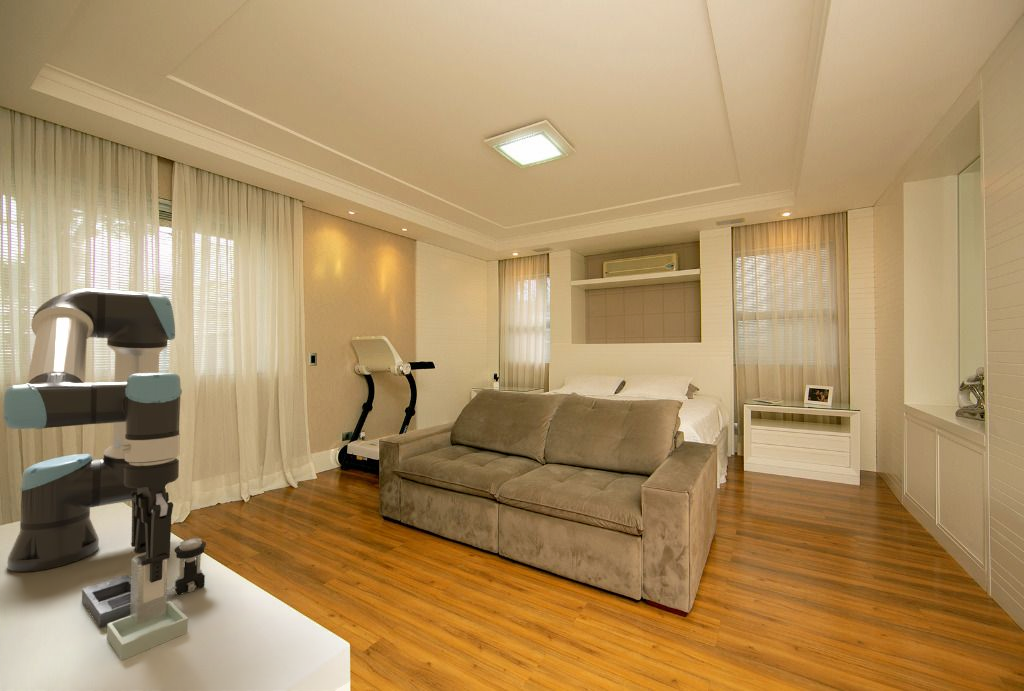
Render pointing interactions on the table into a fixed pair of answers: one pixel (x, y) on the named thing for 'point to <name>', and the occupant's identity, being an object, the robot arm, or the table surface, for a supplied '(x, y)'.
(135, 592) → the block
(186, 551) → the push button
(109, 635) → the parts tray
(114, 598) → the dark gray slotted holder
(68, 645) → the table surface
